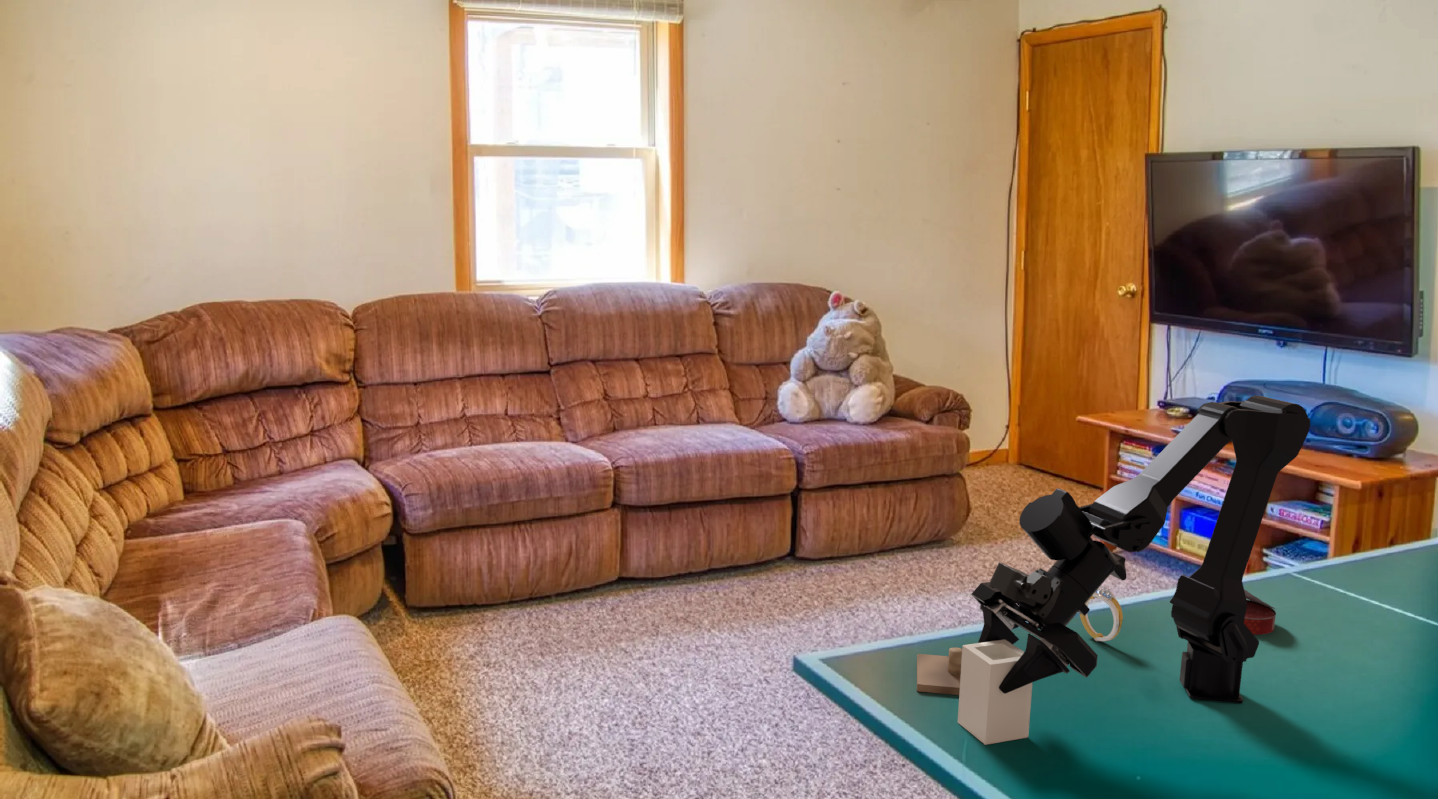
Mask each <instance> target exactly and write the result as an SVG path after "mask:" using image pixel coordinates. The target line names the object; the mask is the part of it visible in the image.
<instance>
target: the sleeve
mask: <svg viewBox="0 0 1438 799" xmlns="http://www.w3.org/2000/svg"><path fill="white" fill-rule="evenodd" d="M961 647H962V648H961V649H962V662H961V677H960V693H959V695H958V707H957V708H958V710H957V711H958V712H957V723H958V725H960V726H961V727H963V728H964V729H965V730H966V731H968V732H969V733H970V734H971V735H973V737H975V738H976V739H977V740H979V741H980V742H981V743H983V745H984V746H986V745H992V744H997V743H1003V742H1008V741H1014V740H1021V739H1027V738H1029V731H1030V719H1031V706H1032V694H1033V682H1032V683H1030V684H1027V685H1025V686H1023V687H1020V688H1018V689H1015V690H1013V691H1011V692H1008V693H1006V694H1004V693H1003V692H1002V691H1001V690H1000V689H999V686H1000V684H1001V683H1002V681H1003V680H1004V678H1005V677H1006V675H1007V674H1008V673H1009V671H1010V670H1011V669H1012V668H1013V666H1014V665H1015V664H1016V662H1017V661H1018V660H1019V659H1020V657H1021V656H1022V655H1023V653H1024V652H1025V651H1024V650H1022V649H1020V648H1019V647H1018V646H1016V645H1014V644H1011V643H1010V642H1008V641H1007V640H1005V639H1004V640H997V641H990V642H982V643H978V642H976V643H970V644H963V645H962V646H961Z"/></svg>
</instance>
